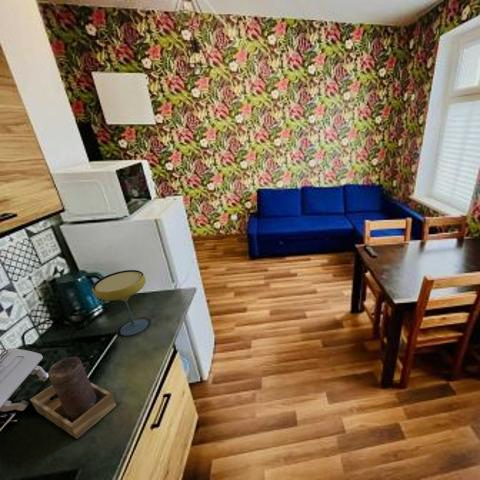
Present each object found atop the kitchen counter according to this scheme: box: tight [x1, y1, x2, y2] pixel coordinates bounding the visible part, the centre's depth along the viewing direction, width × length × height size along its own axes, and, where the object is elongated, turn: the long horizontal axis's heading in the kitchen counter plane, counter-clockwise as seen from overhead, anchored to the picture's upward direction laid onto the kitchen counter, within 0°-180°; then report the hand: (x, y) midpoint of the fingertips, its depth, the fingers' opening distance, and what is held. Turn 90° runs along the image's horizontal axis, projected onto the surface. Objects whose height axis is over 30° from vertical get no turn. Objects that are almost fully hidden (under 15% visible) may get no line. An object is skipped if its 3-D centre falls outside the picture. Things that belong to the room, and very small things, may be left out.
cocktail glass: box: [91, 269, 149, 337], centre depth 116 cm, size 18×18×25 cm
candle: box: [47, 356, 98, 423], centre depth 80 cm, size 8×7×20 cm
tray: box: [29, 381, 117, 440], centre depth 85 cm, size 21×11×6 cm, turn 68°
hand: (38, 391), depth 77 cm, fingers open, 8 cm apart
